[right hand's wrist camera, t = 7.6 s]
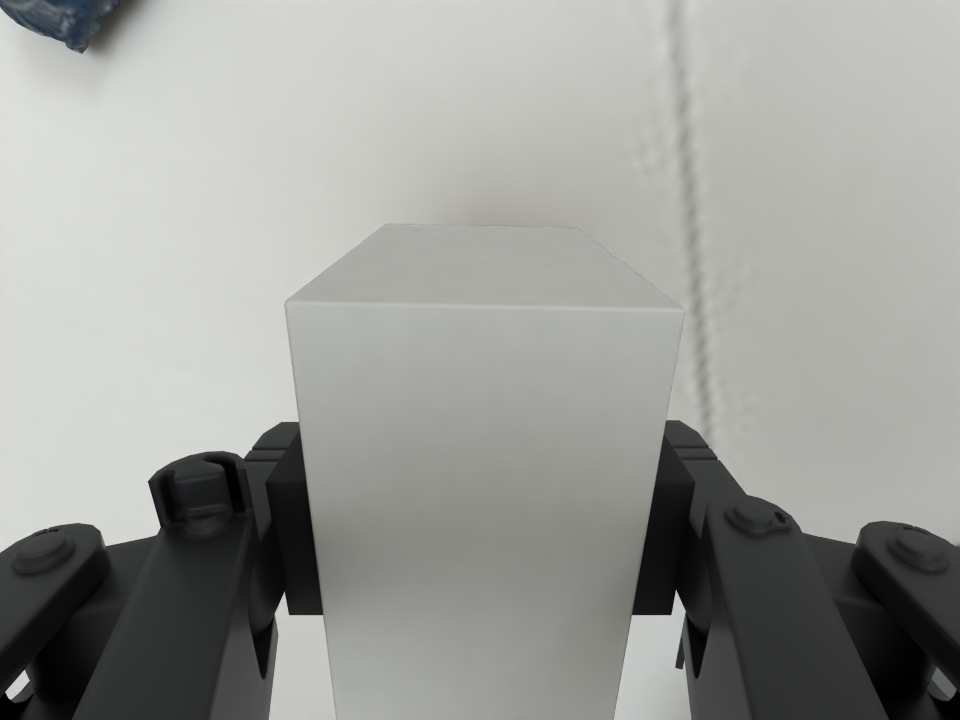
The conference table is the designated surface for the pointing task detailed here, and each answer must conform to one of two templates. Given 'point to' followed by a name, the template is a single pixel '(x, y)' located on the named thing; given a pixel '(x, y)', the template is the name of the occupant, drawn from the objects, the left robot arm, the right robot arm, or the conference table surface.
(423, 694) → the beam
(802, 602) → the right robot arm
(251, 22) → the conference table surface
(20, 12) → the fish model
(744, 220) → the conference table surface
